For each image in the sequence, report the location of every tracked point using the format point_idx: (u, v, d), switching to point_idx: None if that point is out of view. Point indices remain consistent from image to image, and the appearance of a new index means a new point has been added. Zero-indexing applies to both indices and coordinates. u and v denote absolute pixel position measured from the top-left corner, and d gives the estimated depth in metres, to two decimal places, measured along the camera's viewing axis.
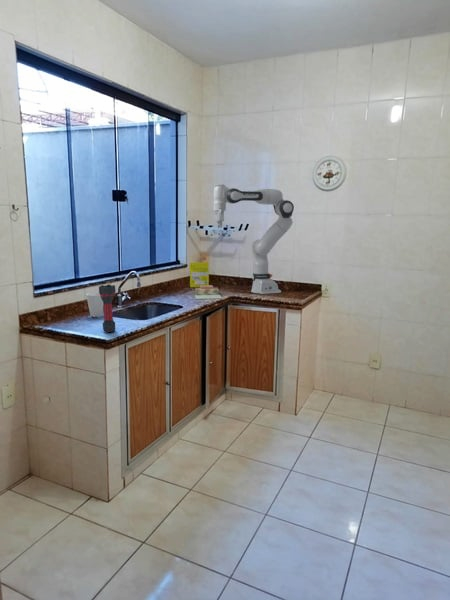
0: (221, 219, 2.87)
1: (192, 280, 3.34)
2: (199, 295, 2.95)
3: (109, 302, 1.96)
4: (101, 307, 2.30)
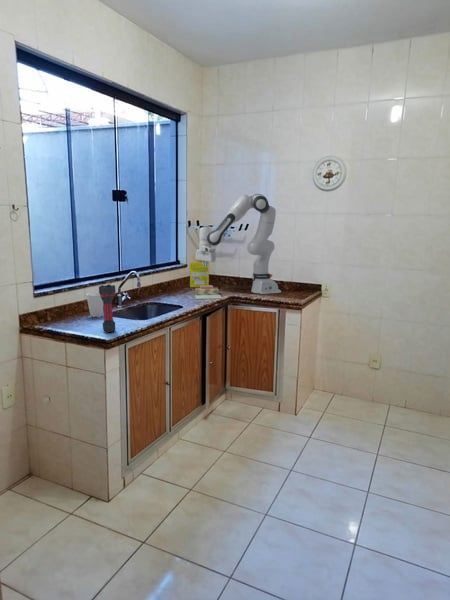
0: None
1: (192, 280, 3.34)
2: (199, 295, 2.95)
3: (109, 302, 1.96)
4: (101, 307, 2.30)
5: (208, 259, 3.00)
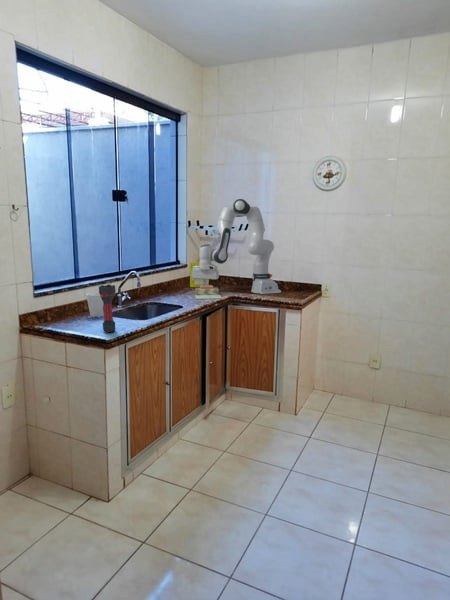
0: None
1: (192, 280, 3.34)
2: (199, 295, 2.95)
3: (109, 302, 1.96)
4: (101, 307, 2.30)
5: (212, 277, 3.05)
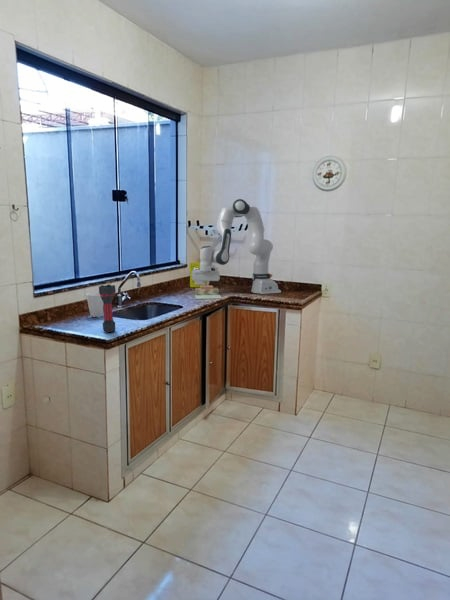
0: None
1: (192, 280, 3.34)
2: (199, 295, 2.95)
3: (109, 302, 1.96)
4: (101, 307, 2.30)
5: (214, 279, 3.01)
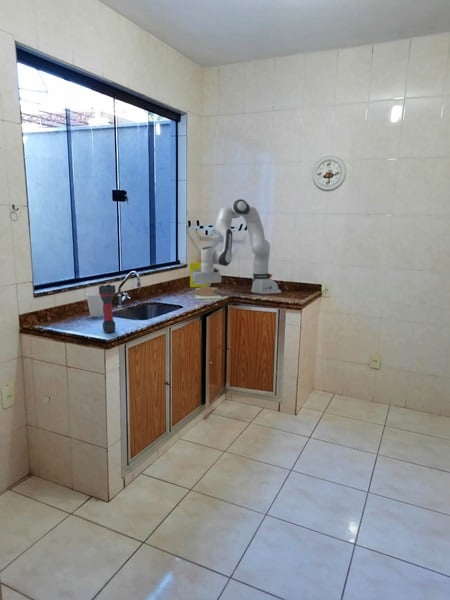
0: (193, 281, 2.92)
1: (192, 280, 3.34)
2: (199, 295, 2.95)
3: (109, 302, 1.96)
4: (101, 307, 2.30)
5: (216, 280, 2.92)
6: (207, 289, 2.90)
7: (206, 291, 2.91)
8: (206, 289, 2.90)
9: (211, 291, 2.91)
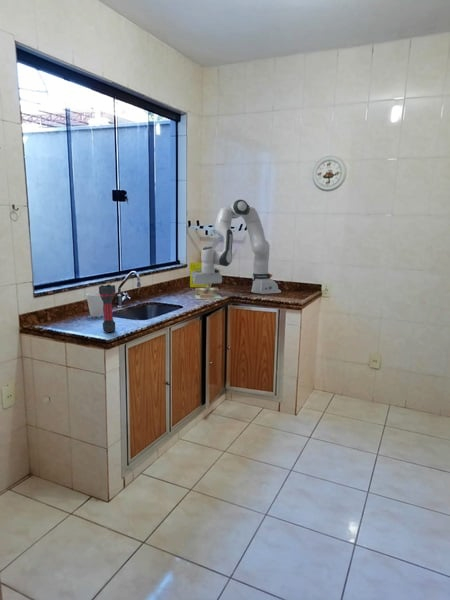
0: (193, 281, 2.89)
1: (192, 280, 3.34)
2: (199, 295, 2.95)
3: (109, 302, 1.96)
4: (101, 307, 2.30)
5: (216, 281, 2.90)
6: None
7: None
8: None
9: None
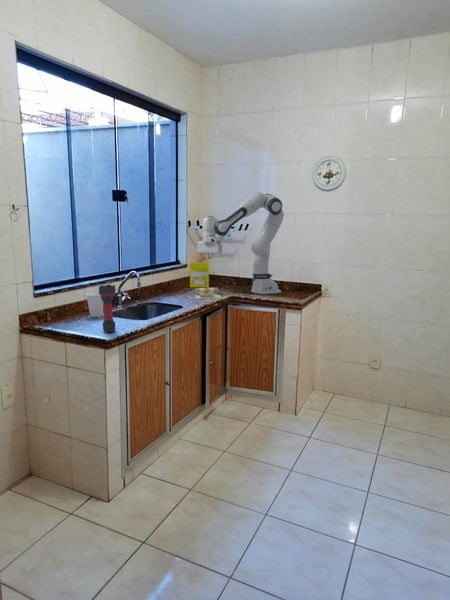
0: None
1: (192, 280, 3.34)
2: (199, 295, 2.95)
3: (109, 302, 1.96)
4: (101, 307, 2.30)
5: (214, 250, 2.87)
6: None
7: None
8: None
9: None
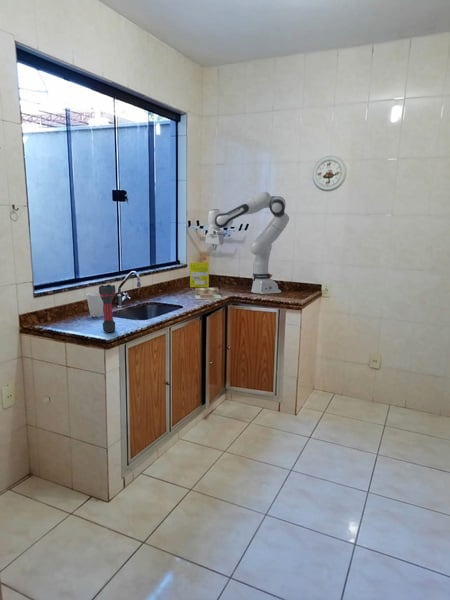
0: None
1: (192, 280, 3.34)
2: (199, 295, 2.95)
3: (109, 302, 1.96)
4: (101, 307, 2.30)
5: (216, 242, 3.01)
6: None
7: None
8: None
9: None
